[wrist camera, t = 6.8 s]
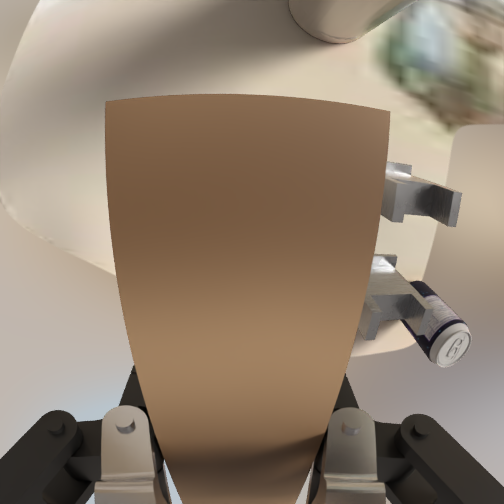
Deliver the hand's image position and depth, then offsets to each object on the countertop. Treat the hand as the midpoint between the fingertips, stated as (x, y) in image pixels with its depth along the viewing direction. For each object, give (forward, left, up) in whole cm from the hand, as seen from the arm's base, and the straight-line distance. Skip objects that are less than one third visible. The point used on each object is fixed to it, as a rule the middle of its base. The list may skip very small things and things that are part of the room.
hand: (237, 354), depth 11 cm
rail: (0, 0, 0) cm, 0 cm away
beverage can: (+11, +23, -23) cm, 34 cm away
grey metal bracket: (-3, +15, -23) cm, 28 cm away
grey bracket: (+8, +15, -23) cm, 28 cm away
